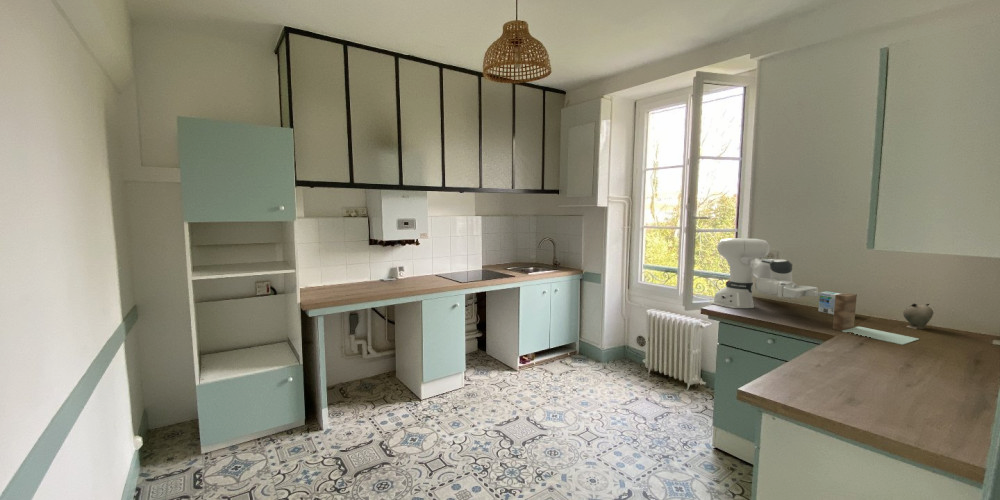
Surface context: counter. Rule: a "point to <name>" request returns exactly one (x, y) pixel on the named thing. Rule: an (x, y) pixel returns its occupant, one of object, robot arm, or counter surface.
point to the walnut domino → (844, 311)
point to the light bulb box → (827, 302)
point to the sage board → (882, 335)
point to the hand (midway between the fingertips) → (818, 294)
